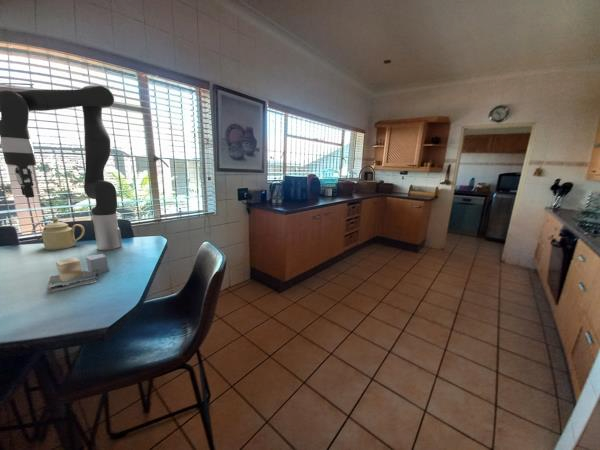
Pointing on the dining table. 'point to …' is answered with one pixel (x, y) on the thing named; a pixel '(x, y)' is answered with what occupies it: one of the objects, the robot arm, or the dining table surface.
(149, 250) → the dining table surface
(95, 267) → the slate block
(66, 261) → the beech block
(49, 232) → the yellow teapot
